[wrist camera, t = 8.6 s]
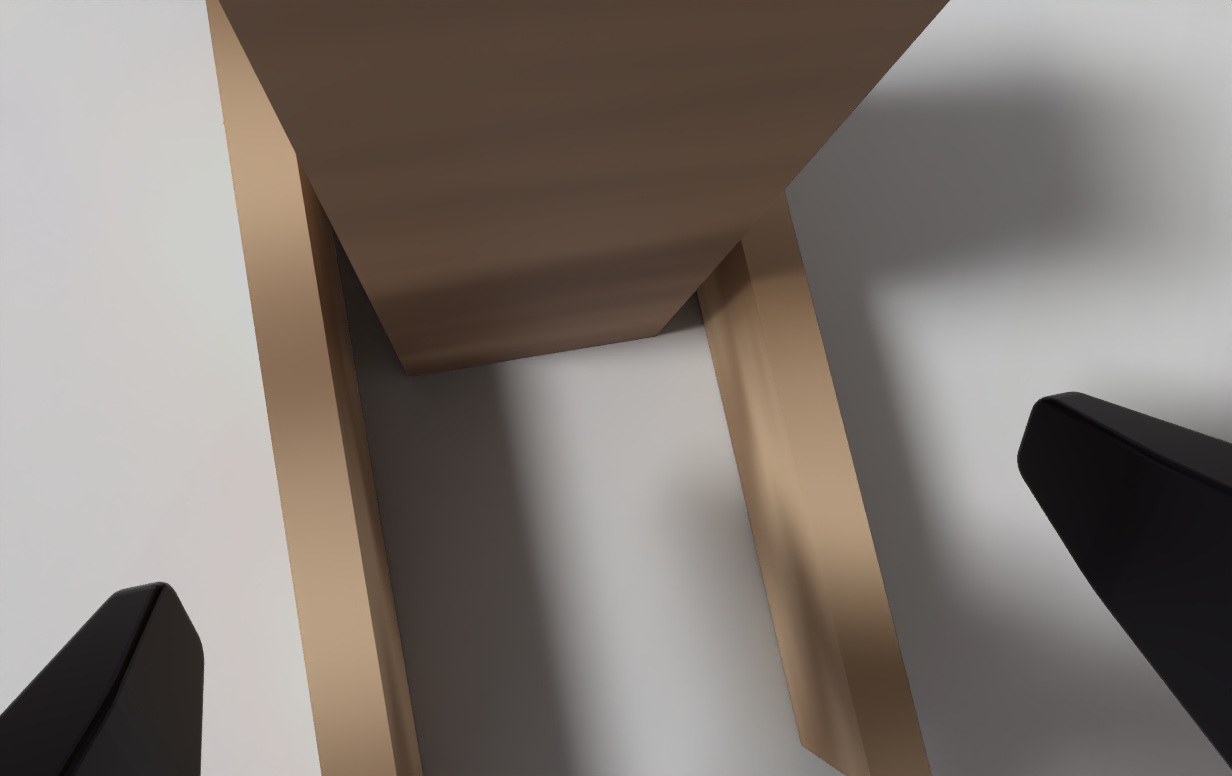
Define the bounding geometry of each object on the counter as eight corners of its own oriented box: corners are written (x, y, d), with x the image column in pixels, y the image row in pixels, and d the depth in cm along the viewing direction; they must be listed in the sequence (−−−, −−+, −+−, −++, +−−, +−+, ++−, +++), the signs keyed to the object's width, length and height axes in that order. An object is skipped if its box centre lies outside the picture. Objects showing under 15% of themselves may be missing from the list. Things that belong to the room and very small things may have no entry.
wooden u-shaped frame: (848, 731, 16) (969, 798, 12) (377, 866, 14) (335, 997, 10) (629, -182, 18) (668, -373, 15) (215, -163, 17) (134, -374, 13)
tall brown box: (655, 336, 16) (1075, -143, 5) (408, 376, 15) (168, -98, 4) (608, 111, 17) (871, -788, 5) (368, 137, 16) (64, -884, 4)
